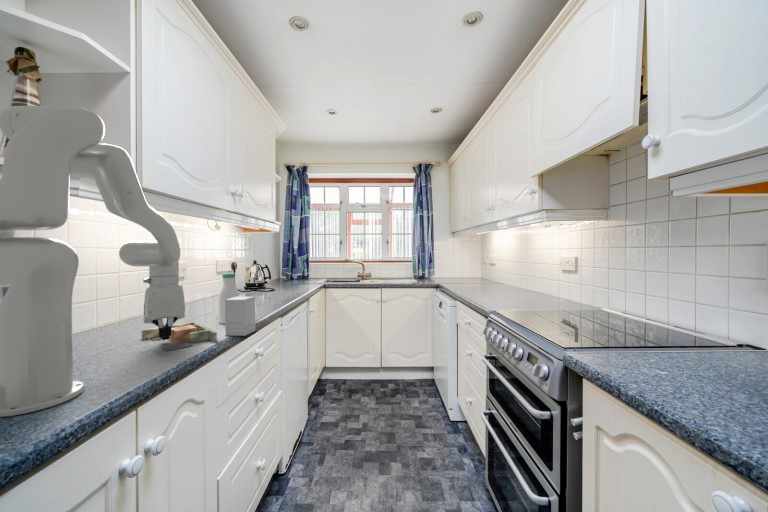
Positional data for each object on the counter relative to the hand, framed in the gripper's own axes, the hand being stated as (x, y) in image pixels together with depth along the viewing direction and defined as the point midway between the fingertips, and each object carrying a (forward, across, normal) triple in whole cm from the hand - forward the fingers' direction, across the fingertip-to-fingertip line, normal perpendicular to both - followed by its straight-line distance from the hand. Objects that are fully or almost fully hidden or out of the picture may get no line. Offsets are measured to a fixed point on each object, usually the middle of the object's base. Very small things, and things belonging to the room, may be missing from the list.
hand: (164, 338), depth 95 cm
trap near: (+1, +2, -8) cm, 8 cm away
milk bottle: (+2, +25, +15) cm, 29 cm away
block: (+2, +5, 0) cm, 5 cm away
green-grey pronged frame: (+1, +4, 0) cm, 4 cm away
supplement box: (+2, +21, -6) cm, 22 cm away
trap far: (+1, +2, +8) cm, 8 cm away
